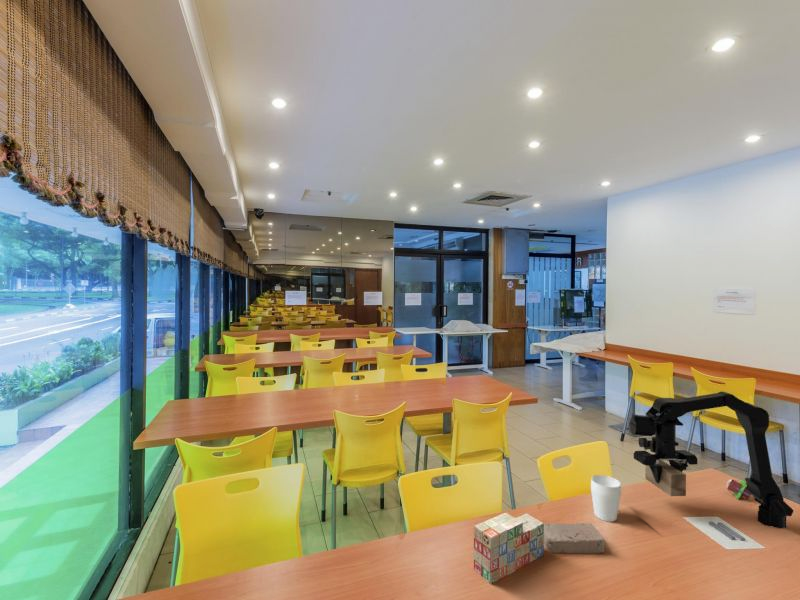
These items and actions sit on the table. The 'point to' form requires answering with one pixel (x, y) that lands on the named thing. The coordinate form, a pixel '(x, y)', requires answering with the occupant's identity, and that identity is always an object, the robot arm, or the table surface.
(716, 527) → the pencil mark
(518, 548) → the stack of blocks
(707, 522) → the board
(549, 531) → the brick
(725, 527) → the long grey stick
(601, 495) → the cup
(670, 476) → the block
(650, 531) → the table surface
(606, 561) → the table surface
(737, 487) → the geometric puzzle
